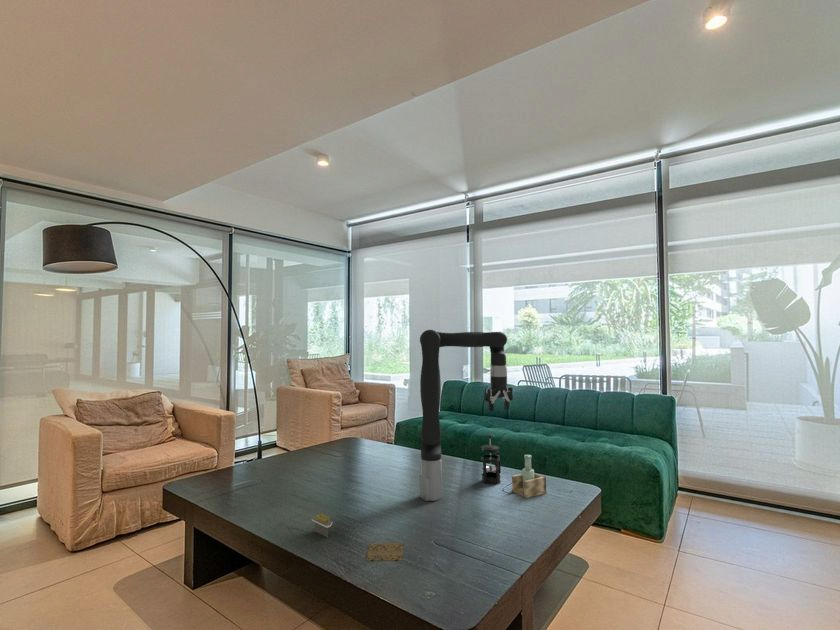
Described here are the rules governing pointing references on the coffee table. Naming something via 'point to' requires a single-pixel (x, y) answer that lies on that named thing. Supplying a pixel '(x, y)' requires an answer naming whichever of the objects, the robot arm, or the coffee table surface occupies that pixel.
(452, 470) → the coffee table surface
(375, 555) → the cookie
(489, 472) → the french press
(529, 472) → the pale green pin
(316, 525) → the plastic food container
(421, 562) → the coffee table surface
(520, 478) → the u rest
